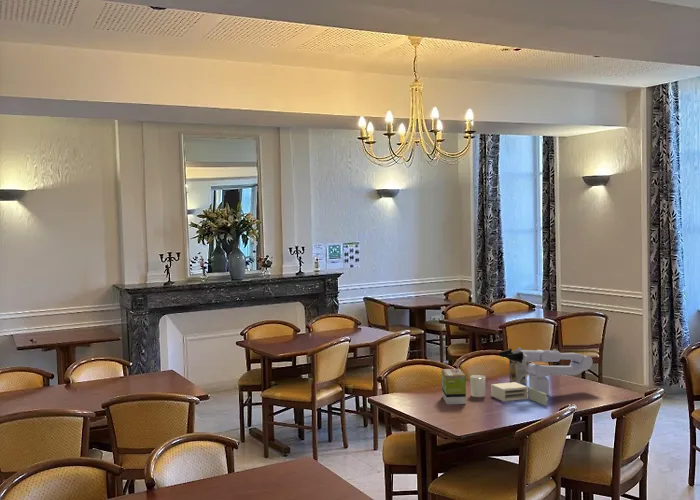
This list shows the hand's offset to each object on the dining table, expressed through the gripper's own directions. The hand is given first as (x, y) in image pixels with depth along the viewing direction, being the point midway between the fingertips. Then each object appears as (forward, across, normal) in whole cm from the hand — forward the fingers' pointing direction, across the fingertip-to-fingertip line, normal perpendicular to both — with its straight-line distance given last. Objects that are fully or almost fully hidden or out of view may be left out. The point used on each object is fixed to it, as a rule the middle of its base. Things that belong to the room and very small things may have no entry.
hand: (503, 355), depth 346 cm
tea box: (+24, -5, +24) cm, 34 cm away
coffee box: (-28, -28, +20) cm, 44 cm away
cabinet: (-5, 0, +21) cm, 22 cm away
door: (-13, +13, +20) cm, 27 cm away
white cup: (+8, -9, +23) cm, 26 cm away
